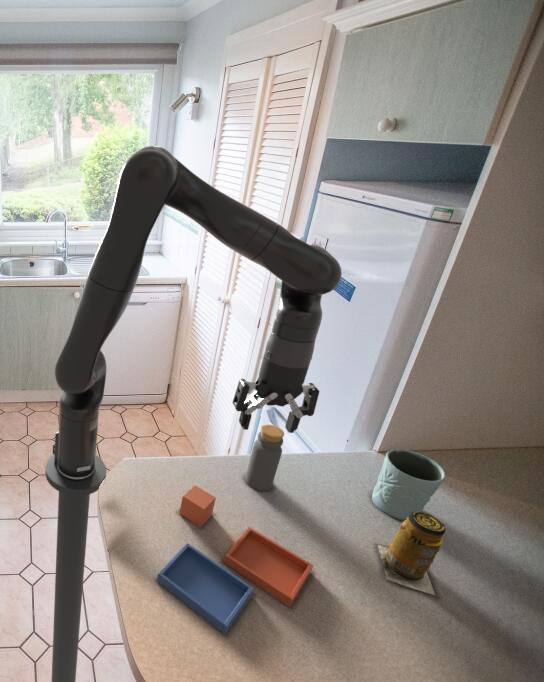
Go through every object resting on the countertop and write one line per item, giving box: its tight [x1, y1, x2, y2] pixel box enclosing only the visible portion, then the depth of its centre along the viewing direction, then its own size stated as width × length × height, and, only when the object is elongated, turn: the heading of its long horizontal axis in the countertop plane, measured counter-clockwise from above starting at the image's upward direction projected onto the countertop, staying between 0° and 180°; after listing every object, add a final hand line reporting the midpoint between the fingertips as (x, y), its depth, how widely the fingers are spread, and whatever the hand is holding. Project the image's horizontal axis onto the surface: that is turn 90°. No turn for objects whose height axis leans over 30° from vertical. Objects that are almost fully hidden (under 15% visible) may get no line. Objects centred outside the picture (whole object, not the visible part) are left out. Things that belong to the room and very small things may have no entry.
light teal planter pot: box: [371, 448, 446, 521], centre depth 98 cm, size 10×10×12 cm
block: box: [179, 484, 217, 528], centre depth 97 cm, size 5×5×5 cm
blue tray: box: [156, 542, 255, 635], centre depth 82 cm, size 13×10×2 cm
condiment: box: [377, 511, 447, 596], centre depth 84 cm, size 7×8×12 cm
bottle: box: [244, 424, 285, 492], centre depth 104 cm, size 6×6×15 cm
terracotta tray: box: [223, 526, 314, 608], centre depth 86 cm, size 12×10×2 cm
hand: (266, 428), depth 90 cm, fingers open, 8 cm apart
